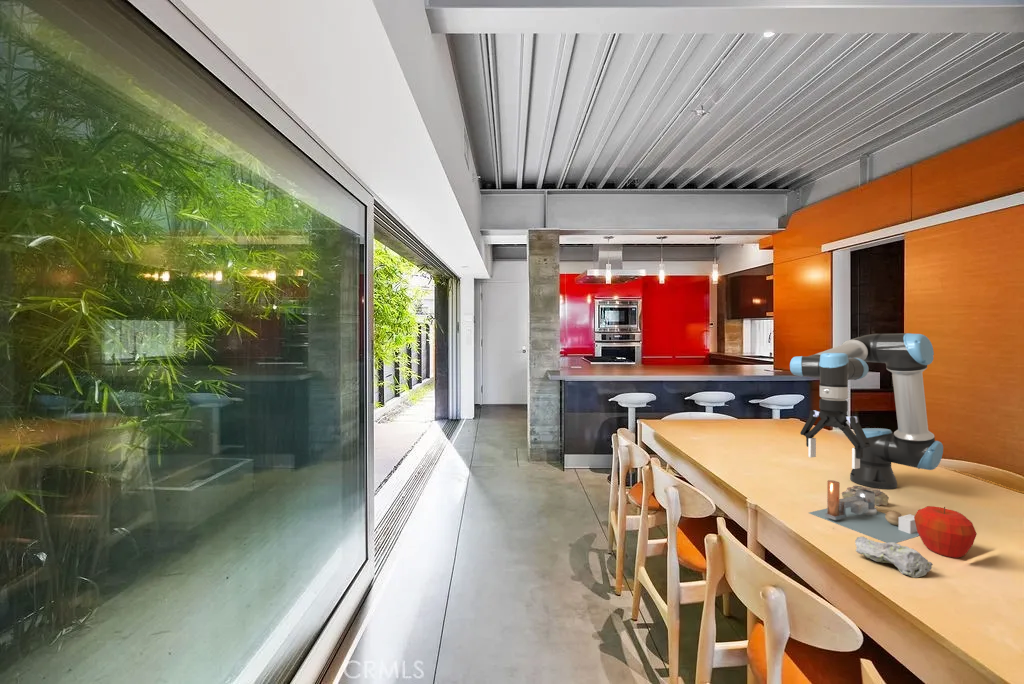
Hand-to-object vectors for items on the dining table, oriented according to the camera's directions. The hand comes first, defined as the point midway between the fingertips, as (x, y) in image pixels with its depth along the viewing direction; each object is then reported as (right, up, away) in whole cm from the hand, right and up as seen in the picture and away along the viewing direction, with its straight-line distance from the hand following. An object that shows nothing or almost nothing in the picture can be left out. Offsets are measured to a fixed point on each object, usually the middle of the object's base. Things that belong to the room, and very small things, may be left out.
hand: (833, 462), depth 140 cm
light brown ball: (+17, -19, -4) cm, 26 cm away
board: (+11, -21, -1) cm, 23 cm away
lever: (+9, -18, +3) cm, 21 cm away
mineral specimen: (-4, -21, -26) cm, 34 cm away
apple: (+16, -21, -21) cm, 33 cm away
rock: (+24, -21, +16) cm, 35 cm away
